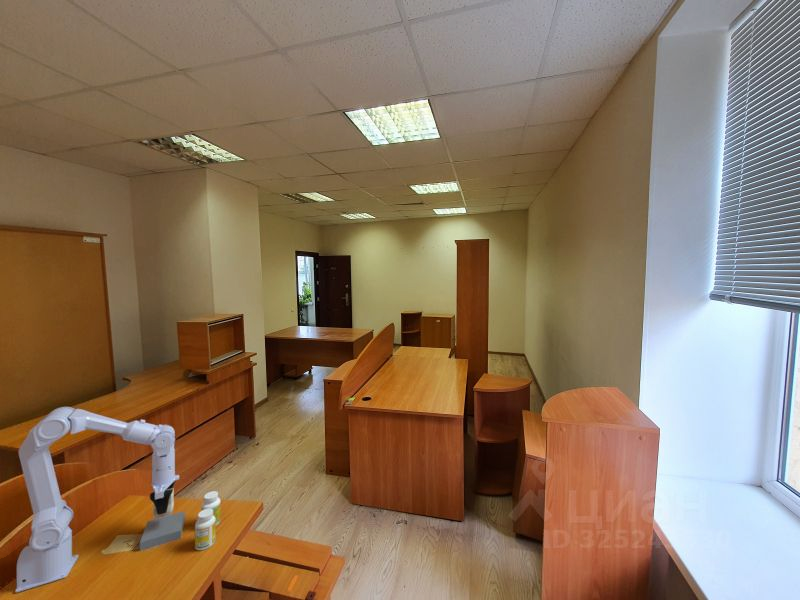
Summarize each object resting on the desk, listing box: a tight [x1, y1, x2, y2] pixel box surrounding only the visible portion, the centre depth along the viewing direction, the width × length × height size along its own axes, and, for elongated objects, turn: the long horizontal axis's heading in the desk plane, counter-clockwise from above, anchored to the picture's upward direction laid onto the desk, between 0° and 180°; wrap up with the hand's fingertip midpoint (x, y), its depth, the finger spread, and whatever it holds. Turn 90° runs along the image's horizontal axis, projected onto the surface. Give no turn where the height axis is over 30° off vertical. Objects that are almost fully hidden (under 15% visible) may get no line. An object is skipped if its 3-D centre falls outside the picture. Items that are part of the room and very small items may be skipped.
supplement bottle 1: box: [201, 490, 221, 526], centre depth 103 cm, size 5×5×10 cm
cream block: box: [152, 487, 175, 520], centre depth 98 cm, size 4×4×6 cm
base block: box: [139, 510, 186, 552], centre depth 98 cm, size 10×10×3 cm
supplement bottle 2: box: [194, 508, 217, 551], centre depth 94 cm, size 5×5×10 cm
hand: (163, 508), depth 98 cm, fingers closed on cream block, 4 cm apart
